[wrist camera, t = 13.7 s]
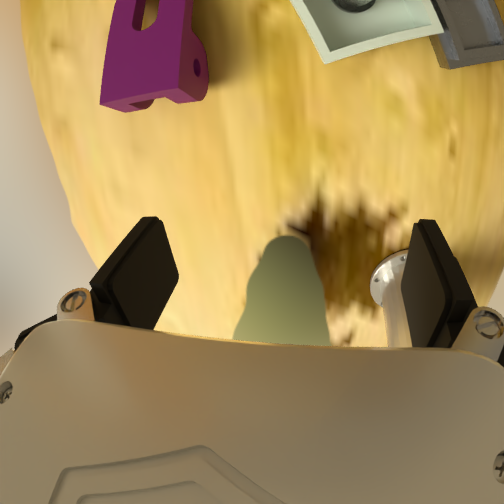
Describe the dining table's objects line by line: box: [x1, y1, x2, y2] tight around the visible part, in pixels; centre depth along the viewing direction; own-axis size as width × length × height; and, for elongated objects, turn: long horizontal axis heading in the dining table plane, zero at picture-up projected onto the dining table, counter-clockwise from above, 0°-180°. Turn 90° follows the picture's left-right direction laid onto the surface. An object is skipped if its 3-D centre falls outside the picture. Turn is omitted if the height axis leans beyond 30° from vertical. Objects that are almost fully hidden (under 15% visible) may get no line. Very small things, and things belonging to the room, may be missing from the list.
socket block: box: [429, 0, 504, 69], centre depth 20 cm, size 10×10×4 cm
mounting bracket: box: [100, 0, 209, 112], centre depth 28 cm, size 10×8×18 cm
